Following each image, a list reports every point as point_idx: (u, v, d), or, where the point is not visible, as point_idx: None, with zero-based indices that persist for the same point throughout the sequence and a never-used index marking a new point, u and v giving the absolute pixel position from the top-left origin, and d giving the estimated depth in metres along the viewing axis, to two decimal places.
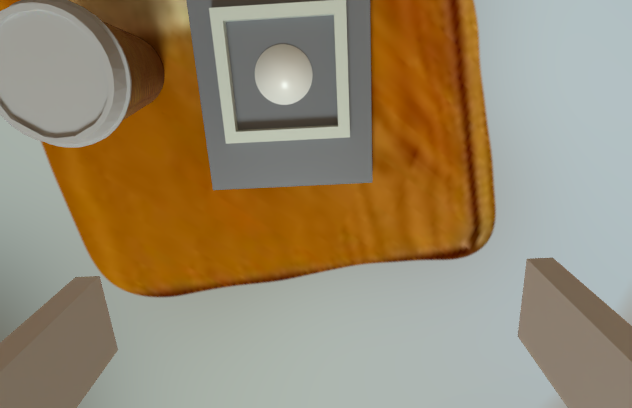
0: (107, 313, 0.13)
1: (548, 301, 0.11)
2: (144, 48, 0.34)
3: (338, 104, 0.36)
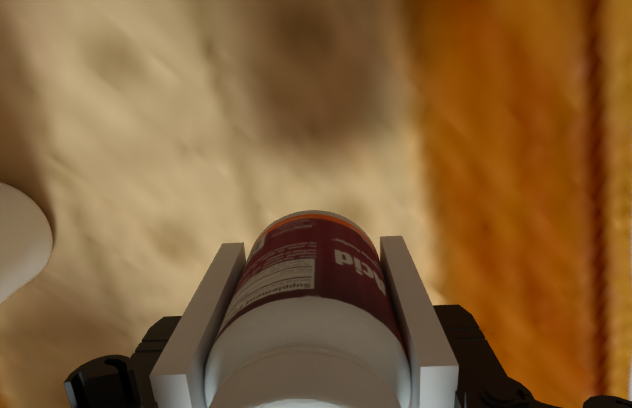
0: None
1: (385, 270, 0.13)
2: None
3: None
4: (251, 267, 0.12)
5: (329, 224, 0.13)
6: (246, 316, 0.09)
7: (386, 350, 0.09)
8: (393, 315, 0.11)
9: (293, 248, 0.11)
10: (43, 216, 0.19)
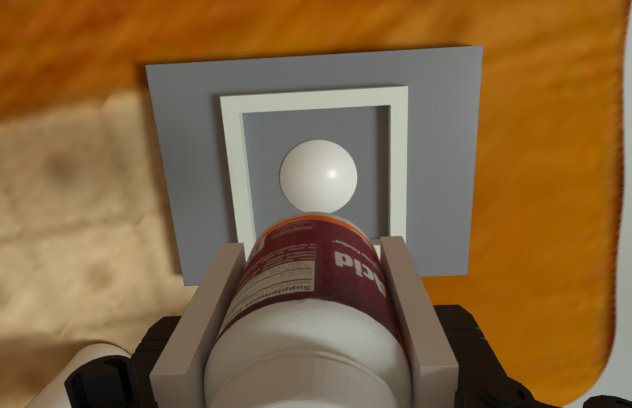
0: None
1: (385, 270, 0.13)
2: None
3: (358, 104, 0.25)
4: (251, 269, 0.12)
5: (329, 225, 0.13)
6: (245, 319, 0.09)
7: (386, 353, 0.09)
8: (393, 317, 0.11)
9: (293, 250, 0.11)
10: None
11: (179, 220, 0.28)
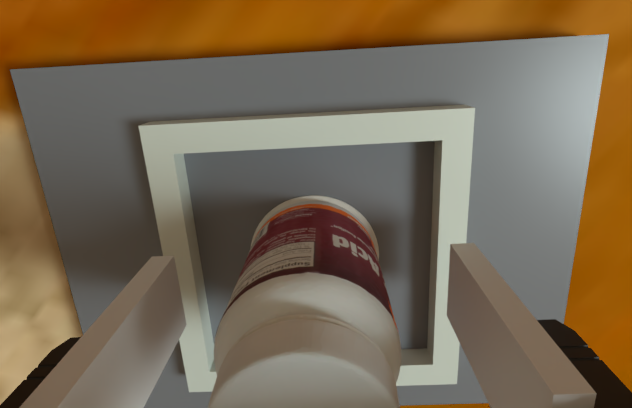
0: (178, 290, 0.14)
1: (462, 280, 0.12)
2: None
3: (385, 140, 0.14)
4: (255, 251, 0.13)
5: (327, 212, 0.14)
6: (252, 290, 0.10)
7: (377, 320, 0.10)
8: (386, 293, 0.12)
9: (294, 233, 0.12)
10: None
11: (89, 319, 0.18)
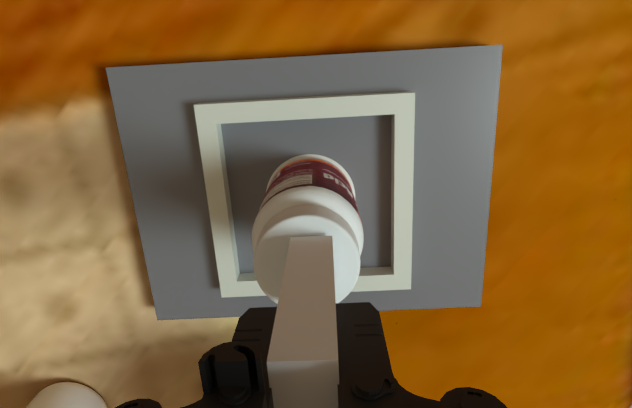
0: None
1: None
2: None
3: (357, 114, 0.21)
4: (273, 184, 0.20)
5: (320, 163, 0.21)
6: (276, 196, 0.17)
7: (349, 213, 0.17)
8: (356, 206, 0.19)
9: (299, 171, 0.20)
10: (51, 385, 0.29)
11: (150, 246, 0.25)
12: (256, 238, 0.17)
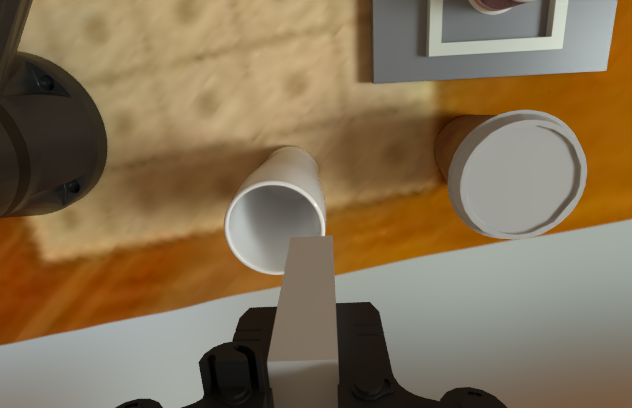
0: None
1: None
2: (461, 121, 0.36)
3: None
4: None
5: None
6: None
7: None
8: None
9: None
10: (281, 148, 0.40)
11: (378, 21, 0.35)
12: None
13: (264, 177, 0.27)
